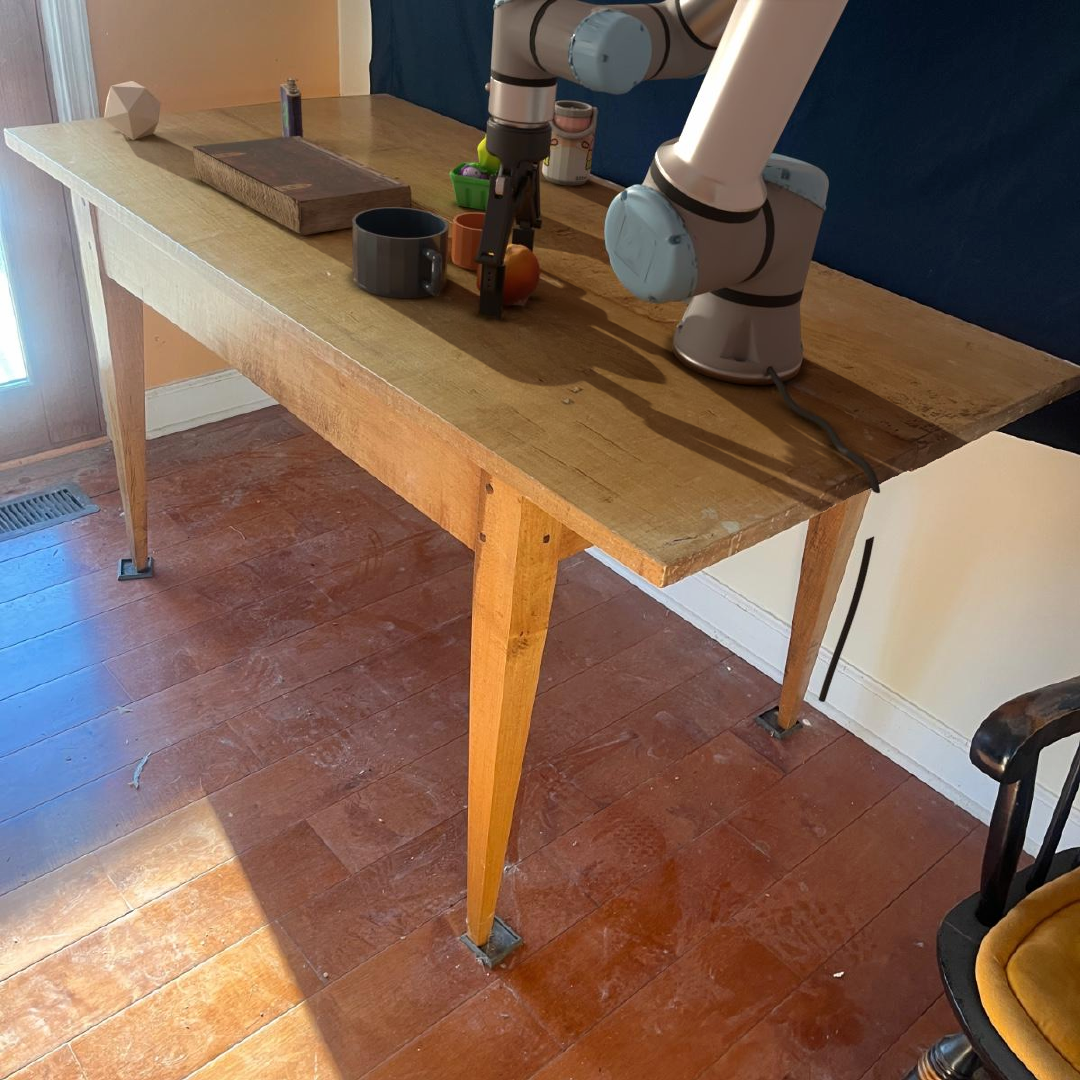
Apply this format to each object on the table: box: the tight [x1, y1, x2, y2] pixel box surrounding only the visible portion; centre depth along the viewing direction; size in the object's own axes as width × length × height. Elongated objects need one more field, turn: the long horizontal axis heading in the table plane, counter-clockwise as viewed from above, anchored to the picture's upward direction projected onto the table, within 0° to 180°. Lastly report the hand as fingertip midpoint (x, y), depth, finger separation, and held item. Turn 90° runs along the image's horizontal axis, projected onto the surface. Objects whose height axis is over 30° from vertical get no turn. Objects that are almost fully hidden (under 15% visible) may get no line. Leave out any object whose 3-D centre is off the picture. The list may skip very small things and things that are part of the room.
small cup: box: [451, 211, 485, 272], centre depth 140 cm, size 10×7×6 cm
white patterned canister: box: [541, 100, 599, 187], centre depth 172 cm, size 9×8×12 cm
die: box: [103, 80, 162, 141], centre depth 171 cm, size 8×9×10 cm
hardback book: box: [192, 136, 412, 236], centre depth 154 cm, size 29×19×5 cm, turn 44°
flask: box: [279, 77, 304, 138], centre depth 175 cm, size 9×3×11 cm, turn 21°
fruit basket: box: [449, 134, 501, 211], centre depth 158 cm, size 11×9×11 cm
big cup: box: [351, 207, 450, 299], centre depth 129 cm, size 15×12×8 cm
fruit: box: [476, 243, 541, 308], centre depth 129 cm, size 8×8×8 cm
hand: (505, 295), depth 130 cm, fingers open, 13 cm apart
